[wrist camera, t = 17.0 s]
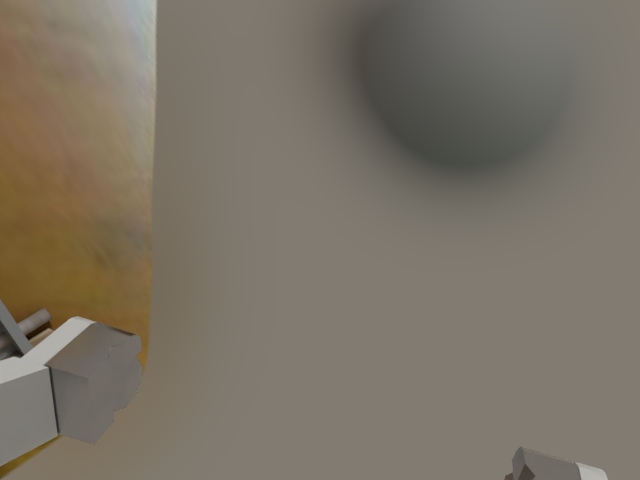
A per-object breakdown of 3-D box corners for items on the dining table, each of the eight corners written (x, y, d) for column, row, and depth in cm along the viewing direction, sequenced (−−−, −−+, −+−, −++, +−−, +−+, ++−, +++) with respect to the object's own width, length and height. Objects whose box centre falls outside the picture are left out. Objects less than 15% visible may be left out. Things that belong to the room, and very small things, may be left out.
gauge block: (18, 411, 46) (28, 422, 43) (-29, 349, 43) (-20, 357, 41) (81, 367, 49) (93, 375, 47) (41, 306, 46) (53, 312, 44)
